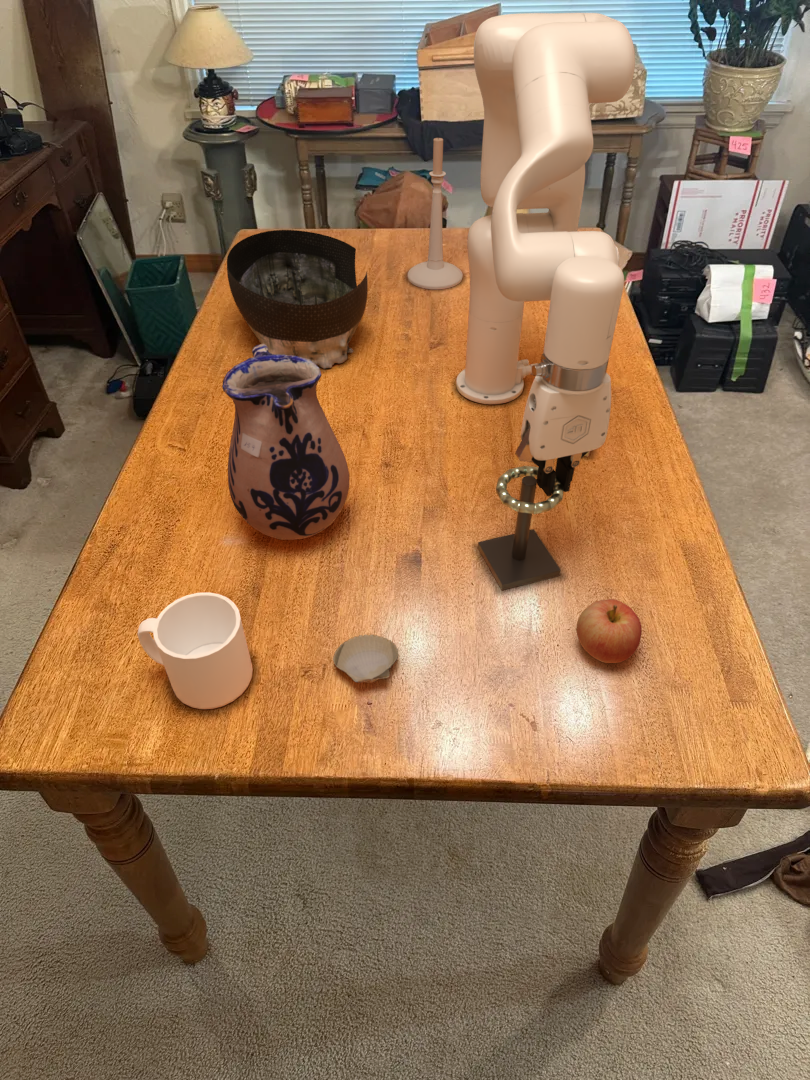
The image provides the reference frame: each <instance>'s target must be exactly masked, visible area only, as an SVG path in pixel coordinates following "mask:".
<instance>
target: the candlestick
mask: <svg viewBox="0 0 810 1080" xmlns="http://www.w3.org/2000/svg"><path fill="white" fill-rule="evenodd" d="M432 146H433V147H432V148H433V149H432V151H433V152H432V171H429V172H428V173H429V176H430V177H431V180H430V182H431V183H432V187H433V188H432V192H431V193H432V194H431V195H432V196H431V208H430V209H431V210H430V224H429V238H428V252H427V260H426V261H422V262H419V263H417V264H415V265H413V266H412V267H411V268H410V269H409V270H408V271H407V280H408V282H409V283H410V284H411V285H413V286H416V287H417V288H420V289H426V290H446V289H451V288H453V287H455V286H457V285H459V284H460V283H461V282H462V281H463V278H464V277H463V276H464V275H463V271H462V270H461V269H460V268H459V267H458V266H456V265H455V264H453V263H450V262H447V261H444V245H443V244H444V240H443V191H442V184H443V183H444V181H445V179H444V177H445V176H446V175H447V173H446V171H443V159H444V157H443V156H444V139H443V138H442V137H435V138H433V145H432Z"/></svg>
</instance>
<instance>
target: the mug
mask: <svg viewBox="0 0 810 1080" xmlns="http://www.w3.org/2000/svg"><path fill="white" fill-rule="evenodd" d="M150 633H151V634H153V637H152V635H151V634H150ZM136 634H137V638H138V641H139V644H140V645H141V647H142V650H143V651H144V652H145V653H146V654H147V656H148V657H149V658H151V659H152V660H153V661H154V662H155V663H157V664H159V665H162V666H163V667H164V670H165V672H166V675H167V678H168V680H169V683H170V687H171V688H172V691H173V693H174V695H175V697H176V698H177V699H178V700H179V701H180V702H181V703H182V704H184V705H186V706H188V707H190V708H194V709H199V710H213V709H218V708H221V707H224V706H226V705H228V704H230V703H232V702H234V701H236V699H238V698H239V697H241V696H242V695H243V693H244V692H245V691H246V690H247V689H248V687H249V685H250V683H251V681H252V678H253V671H254V669H253V664H252V659H251V655H250V651H249V646H248V642H247V639H246V635H245V630H244V626H243V622H242V617H241V614H240V610H239V608H238V606H237V605H236V603H235V602H233V600H231V599H230V598H228V597H227V596H225V595H222V594H220V593H215V592H209V591H207V592H206V591H205V592H195V593H191V594H187V595H184V596H181V597H179V598H176V599H175V600H174V601H172V602H171V603H170V604H168V605H166V607H165V608H163V610H162V611H161V612H159V614H158V616H157V617H148V618H146V619H144V620H143V621H141V623H140V624H139V626H138V629H137V633H136Z"/></svg>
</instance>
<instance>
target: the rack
mask: <svg viewBox="0 0 810 1080" xmlns="http://www.w3.org/2000/svg"><path fill="white" fill-rule="evenodd" d="M537 487H538V485H537V478H536V477H533V476H523V477H521V483H520V489H519V490H520V491H519V496H518V497H519V498H518V500H519V501H521V502H529V503H535V498H536V491H537ZM516 512H517V511H516ZM532 517H533V514H529V513H521V512H517V513H516V519H515V526H514V527H515V528H514V533H511V534H507V535H502V536H499V537H498V536H497V537H494V538H490V539H485V540H481V541H478V542H477V549H478V551H479V553H480V554H481V556H482V558H483V560H484V561H485V563H486V565H487V567H488V569H489V570H490V573H491V574H492V575H493V576H492V577H494V579H495V581H496V583H497V585H498V586H499V588H500V590H501V591H505V590H508V589H513V588H517V587H520V586H524V585H525V586H526V585H528V584H532V583H536V582H541V581H544V580H548V579H553V578H556V577H559V576H561V572H562V570H561V568H560V566H559V565H558V564H557V562H556V560H555V559H554V557H553V556H552V554H551V553H550V551H549V550H548V548H547V547H546V545H545V544H544V542H543V540H542V539H541V538H540V536H539V535H538V532H537V531H536V530H535V529H534V528H532V529H531V524H532Z"/></svg>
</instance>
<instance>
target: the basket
mask: <svg viewBox="0 0 810 1080" xmlns="http://www.w3.org/2000/svg"><path fill="white" fill-rule="evenodd" d="M356 251H357V248H356V247H354V246H353V245H351V244H350V243H347V242H345V241H343V240H341V239H338V238H336V237H333V236H330V235H326V234H322V233H318V232H312V231H304V230H298V229H297V230H294V229H275V230H267V231H263V232H258V233H255V234H251V235H249V236H247V237H245V238H243V239H241V240H240V241H238V242H237V243H235V244H234V245H233V247H232V248H230V250H229V252H228V254H227V259H226V273H227V274H226V275H227V280H228V286H229V290H230V294H231V296H232V298H233V301H234V304H235V306H236V307H237V309H238V311H239V313H240V314H241V316H242V318H243V319H244V321H245V322H246V324H247V325H248V327H249V328H250V330H251V331H252V333H253V334H254V335H255V337H256V338H257V340H258V341H259V343H260V344H265V345H266V346H267V347H268V348H269V352H270V353H271V354H273V355H294V356H298V357H302V358H306V359H310V360H311V361H312V362H313V363H314V364H316V365H317V366H318V367H319V368H320V369H330V368H333V365H335V364H343V363H345V362H346V361H347V360H348V354H350V353H351V354H353V352H354V349H353V348H352V347H350V346H349V344H350V342H351V341H352V338H353V336H354V334H355V333H356V331H357V329H358V327H359V325H360V323H361V321H362V319H363V317H364V314H365V310H366V307H367V301H368V290H369V289H368V288H369V286H368V285H369V283H368V282H369V281H368V271H366V273H365V276H364V277H363V278H362V280H361V281H360V282H359V283H358V284H357V275H356V253H357V252H356Z"/></svg>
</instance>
